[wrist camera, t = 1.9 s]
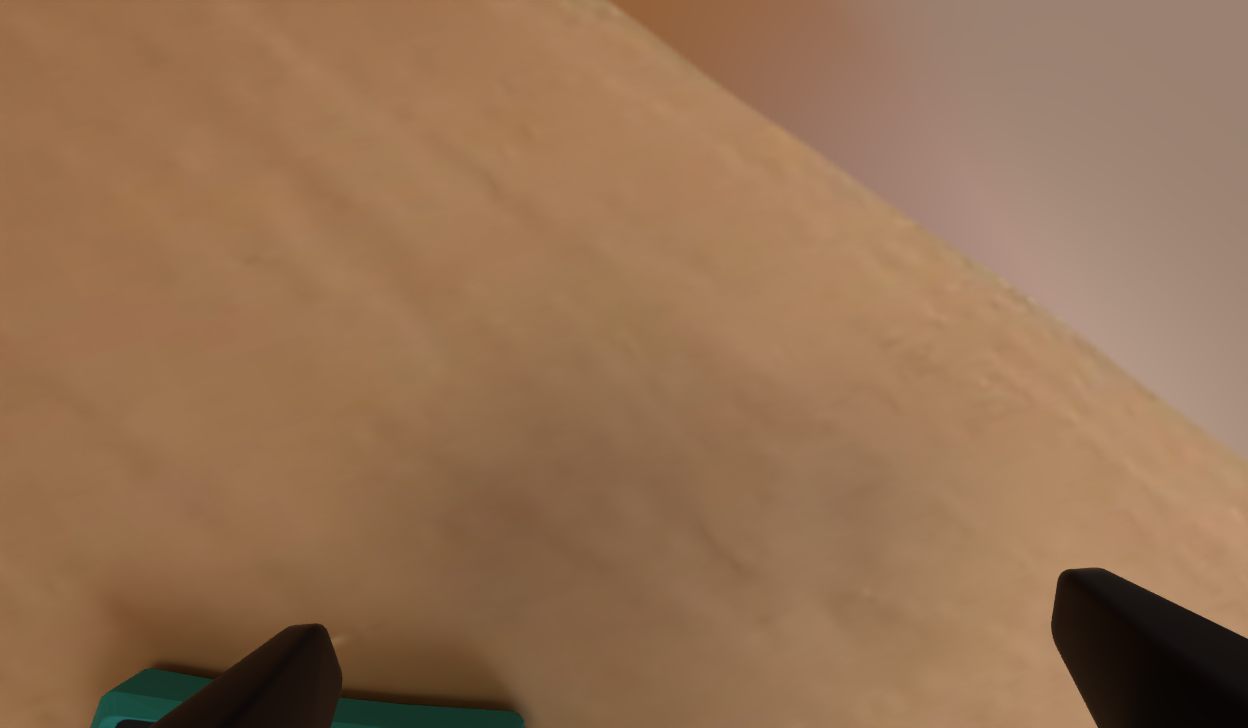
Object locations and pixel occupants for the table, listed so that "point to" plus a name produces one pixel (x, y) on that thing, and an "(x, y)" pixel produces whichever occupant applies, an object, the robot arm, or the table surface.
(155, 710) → the digital multimeter
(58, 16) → the table surface
